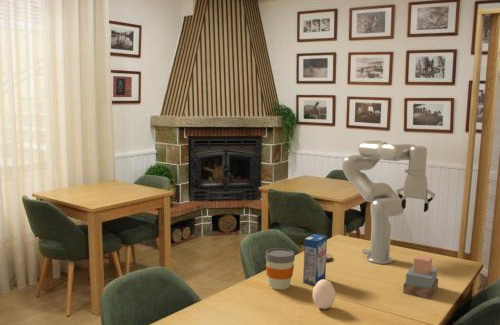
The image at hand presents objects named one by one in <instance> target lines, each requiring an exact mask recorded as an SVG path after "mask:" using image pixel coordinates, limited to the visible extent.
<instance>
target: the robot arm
mask: <svg viewBox="0 0 500 325" xmlns="http://www.w3.org/2000/svg"><path fill="white" fill-rule="evenodd" d="M358 153H359V154H353V155H349V156H346V157H345V158H344V159H343V161H342V166H341V167H342V171H343V174H344V176H345V177H346V179H347V180H348V181H349V182H350V184H352V186H354V188H355V189H356V191H357V192H358V193H359V194H360V196H361V197H362V198H363V199H364V201H365V202H368V203H370V207H369V208H370V216H371V217H370V218H371V230H370V248H369V249H365V248H363V249H362V254H363V255H366V260H367V261H368V262H371V263H373V264H379V265H380V264H381V265H387V264H391V263H392V262H393V261H394V260H393V258H392V257H391V256H390V253H391V237H392V236H391V235H392V234H391V233H392V224H391V222H390V220H389V218H390V217H398V216H400V215H401V214H403V213H404V210H405V209H406V208H407V207H406V205H407V199H406V198H408V199H415V200H416V199H418V200H423V201H424V204H423V212H424V213H426V212H427V211H429V204H430V203H431V201H433V199H434V198H435V197H436V195H437V194H436V193H434V192H433V191H432V190H430V189H429V188H428V187H429V184H428V183H429V182H428V177H427V176H426V171H427V170H426V169H427V155H428V149H427V147H426V146H424V145H423V146H422V145H416V144H413V143H412V144H411V143H402V144H389V143H388V142H386V141H381V140H365V141H363V142H361V143H360V144H359V145H358ZM381 160H383V161H393V162H394V161H395V162H401V161H408V167H407V169H405V170H404V173H406V174H407V175H405V178H404V183H403V187H401V188H398V189H396V192H395V190H394V189H393V187H391V185H389V184H387V183H386V182H373V181H372V180H371V179H370V178H369V177H368V175H367V174H365V173H364V172H362V171H369V170H372V169H374V167H375V166H376V165H377V164H378V163H379V162H380V161H381ZM428 195H430V197H428Z"/></svg>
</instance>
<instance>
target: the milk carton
mask: <svg viewBox="0 0 500 325" xmlns="http://www.w3.org/2000/svg"><path fill="white" fill-rule="evenodd" d="M327 243H328V236H327V235H323V234H319V233H313V234H311V235H309V236H308V237H305V238H304V244H303V245H304V250H303V276H302V277H303V278H302V279H303V282H302V283H303V284H305V283H307V284H306V285H310V284H312V285H311V286H314V285H316V284H317V282H318V281H320V280H323V279H325V280H326V272H327V271H326V270H327V269H326V268H327V262H326V253H327Z"/></svg>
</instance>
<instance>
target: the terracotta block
mask: <svg viewBox="0 0 500 325" xmlns="http://www.w3.org/2000/svg"><path fill="white" fill-rule="evenodd" d="M413 264H414V270H413V272H415V273H420V274H425V275H429V273H430V272H431V270H432V268H433V257H432V256H427V255H421V254H417V255H416V256H415V257H414V259H413Z"/></svg>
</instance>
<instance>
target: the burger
mask: <svg viewBox="0 0 500 325" xmlns="http://www.w3.org/2000/svg"><path fill="white" fill-rule="evenodd" d="M332 258H333V257H332V254H329V253H327V252H326V263H328V262H330V259H332Z"/></svg>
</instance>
